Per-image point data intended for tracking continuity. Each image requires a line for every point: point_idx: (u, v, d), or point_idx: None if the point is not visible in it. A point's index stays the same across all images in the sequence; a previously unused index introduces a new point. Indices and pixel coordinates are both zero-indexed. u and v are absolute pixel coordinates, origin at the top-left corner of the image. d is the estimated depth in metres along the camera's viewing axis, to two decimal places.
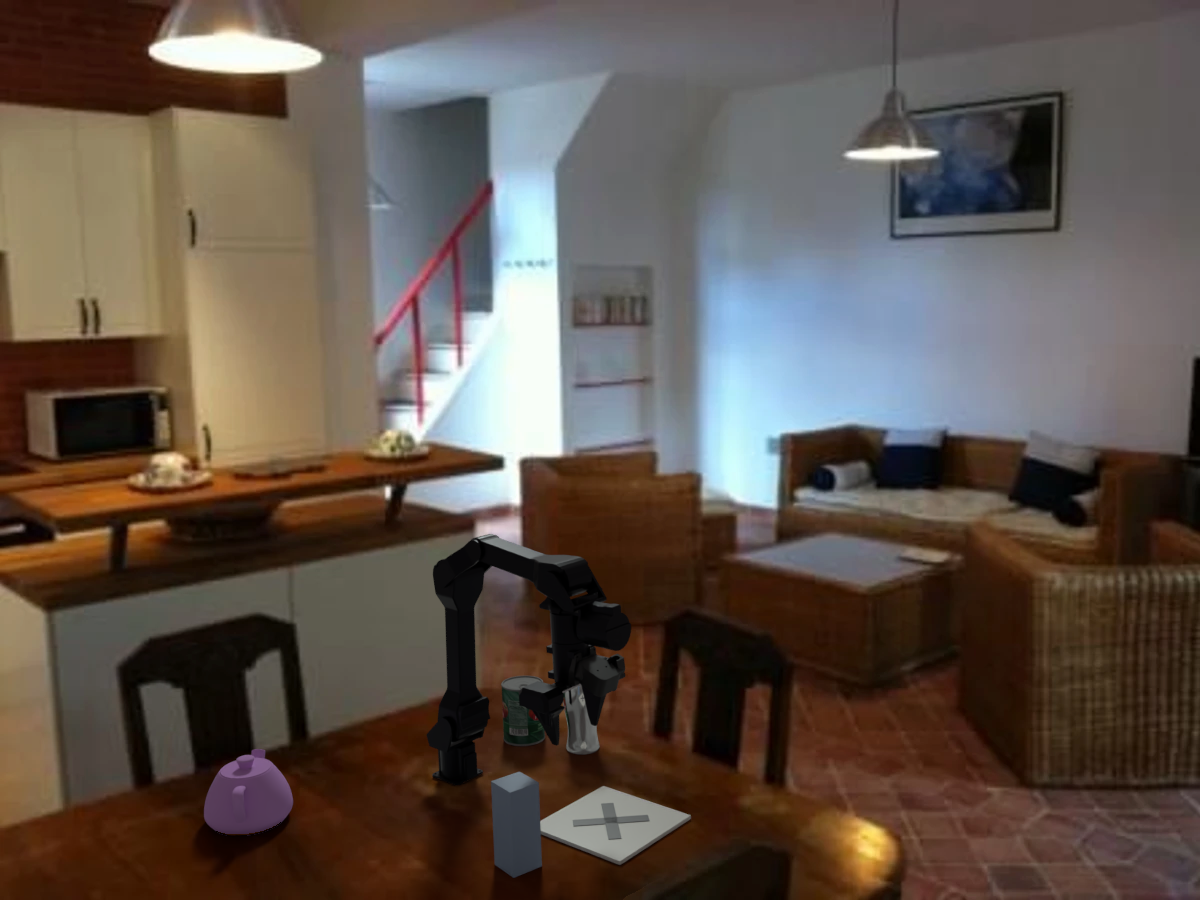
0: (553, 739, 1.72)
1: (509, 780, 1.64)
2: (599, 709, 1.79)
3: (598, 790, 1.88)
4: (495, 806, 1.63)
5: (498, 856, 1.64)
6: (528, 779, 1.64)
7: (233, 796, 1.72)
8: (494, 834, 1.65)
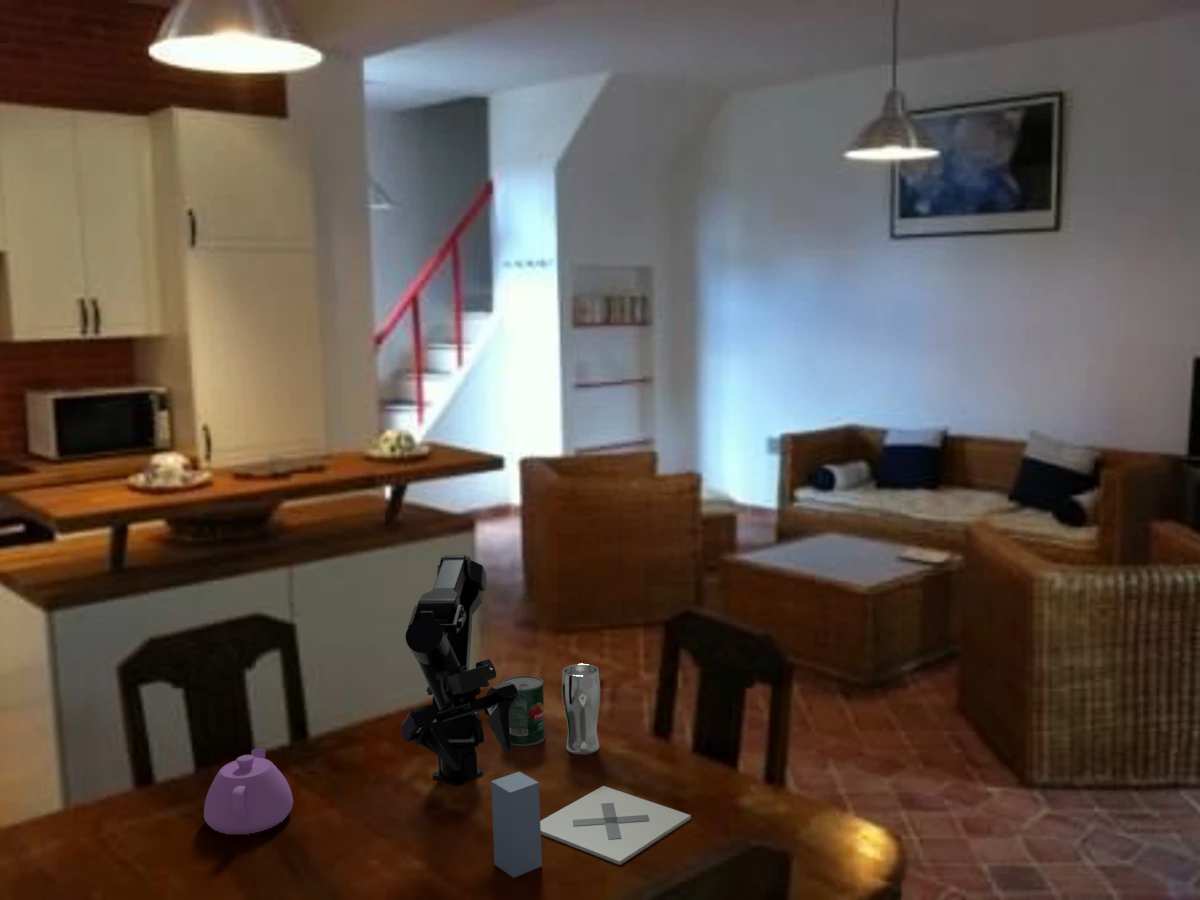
0: (452, 763, 1.67)
1: (509, 780, 1.64)
2: (505, 732, 1.73)
3: (598, 790, 1.88)
4: (495, 806, 1.63)
5: (498, 856, 1.64)
6: (528, 779, 1.64)
7: (233, 796, 1.72)
8: (494, 834, 1.65)
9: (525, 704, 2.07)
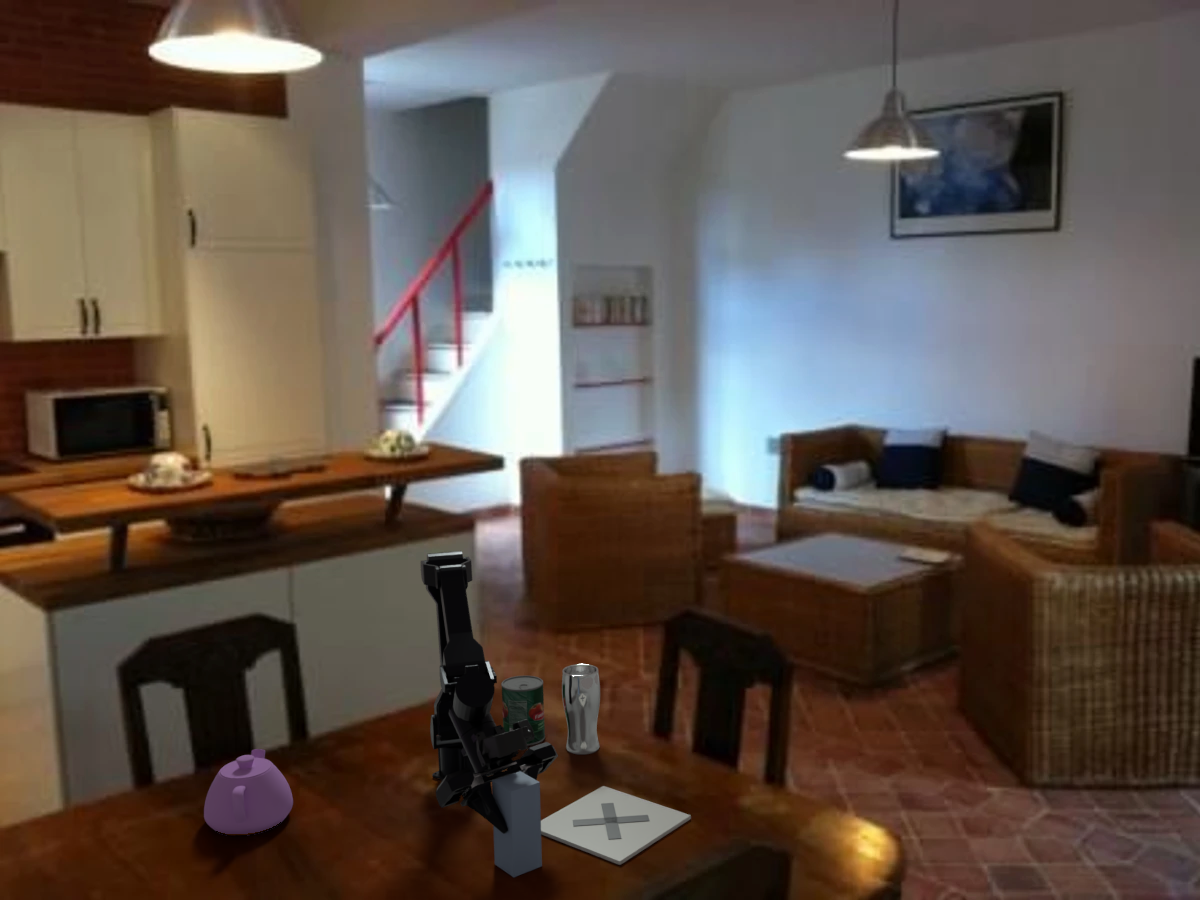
0: (500, 826, 1.61)
1: (510, 780, 1.64)
2: None
3: (598, 790, 1.88)
4: None
5: (498, 855, 1.64)
6: (529, 778, 1.64)
7: (233, 796, 1.72)
8: (495, 834, 1.65)
9: (525, 704, 2.07)
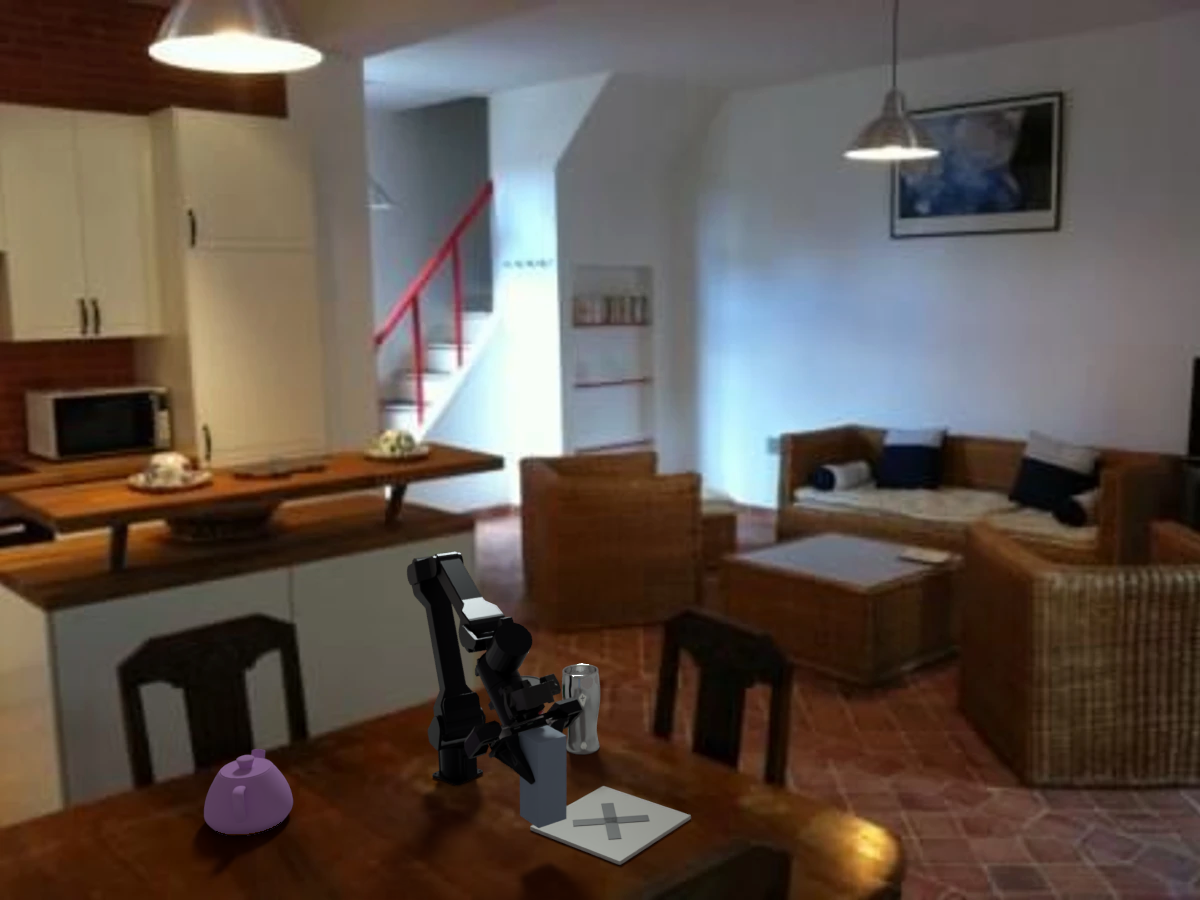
0: (527, 777, 1.64)
1: (537, 733, 1.66)
2: None
3: (598, 790, 1.88)
4: None
5: (524, 807, 1.67)
6: (556, 732, 1.67)
7: (233, 796, 1.72)
8: (521, 786, 1.67)
9: None
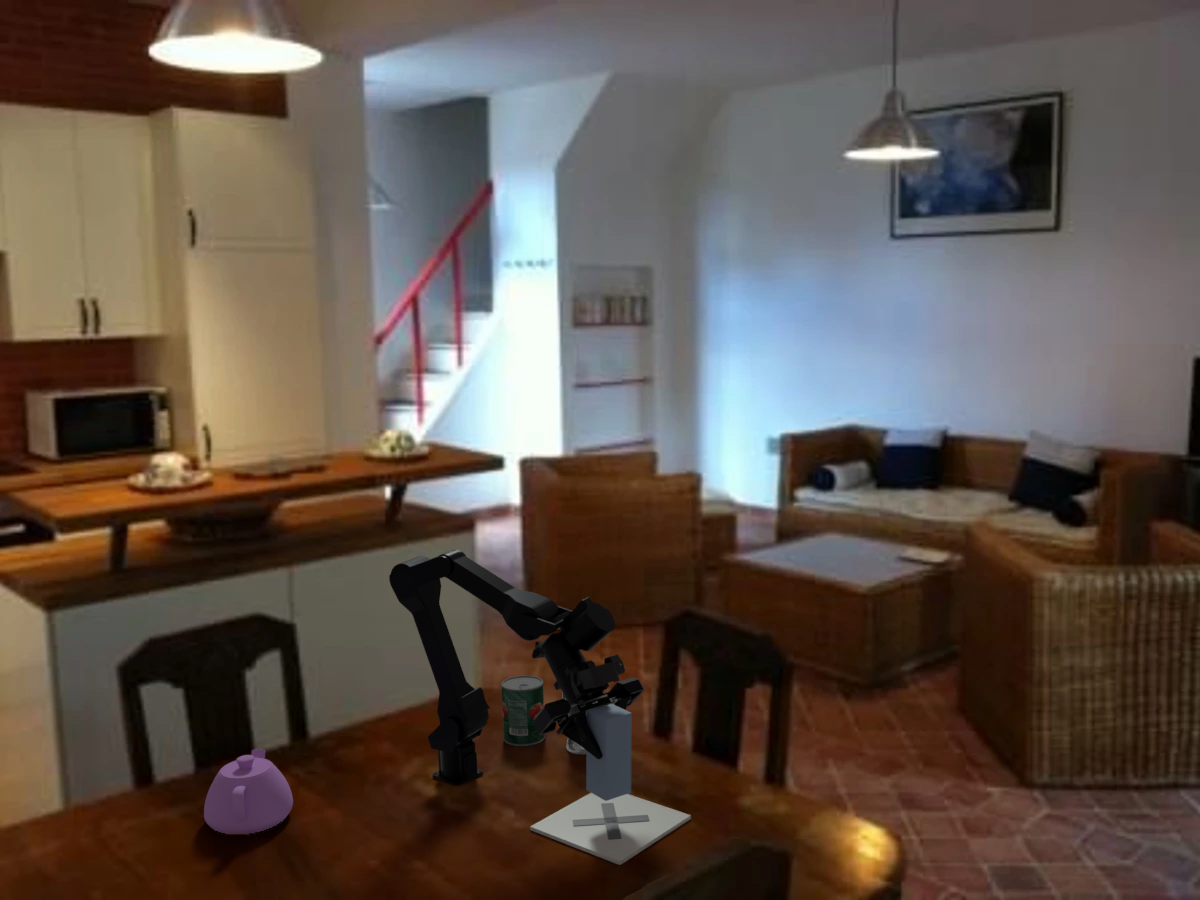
0: (595, 752, 1.73)
1: (603, 710, 1.75)
2: None
3: None
4: None
5: (590, 781, 1.75)
6: (621, 709, 1.75)
7: (233, 796, 1.72)
8: (587, 761, 1.76)
9: (525, 704, 2.07)
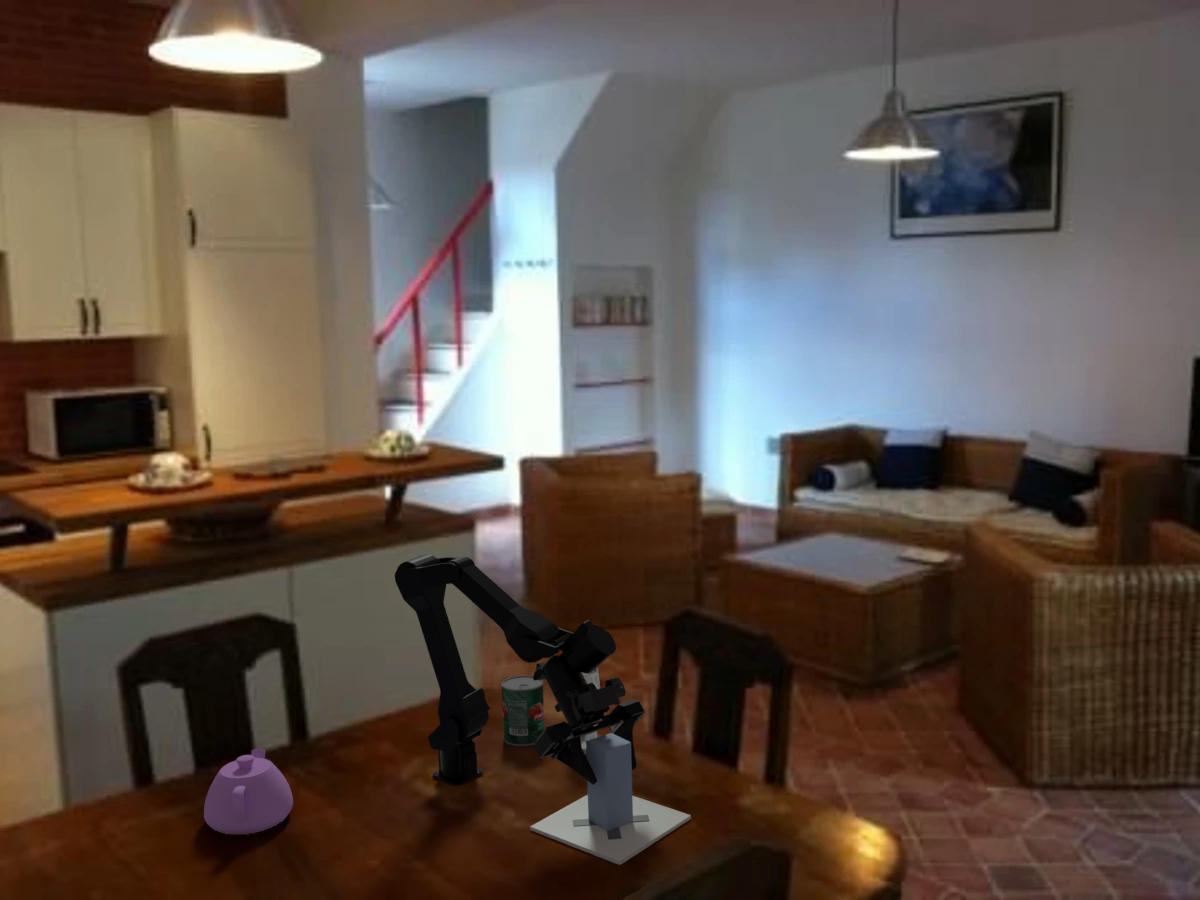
0: (589, 777, 1.72)
1: (603, 740, 1.75)
2: None
3: None
4: (590, 764, 1.75)
5: (592, 811, 1.76)
6: (621, 739, 1.76)
7: (233, 796, 1.72)
8: (589, 791, 1.76)
9: (525, 704, 2.07)
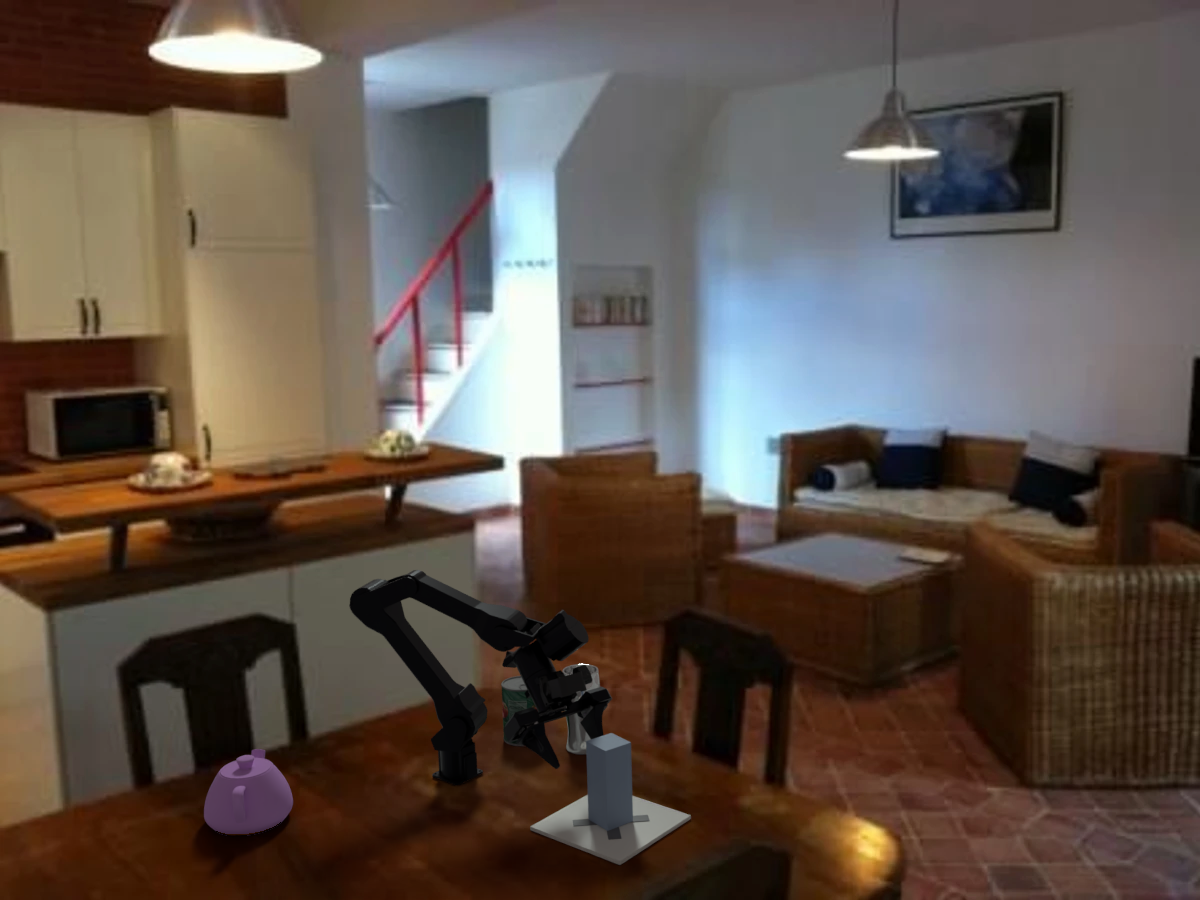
0: (552, 762, 1.78)
1: (603, 740, 1.75)
2: (600, 733, 1.85)
3: None
4: (590, 764, 1.75)
5: (592, 811, 1.76)
6: (621, 739, 1.76)
7: (233, 796, 1.72)
8: (589, 791, 1.76)
9: (525, 704, 2.07)
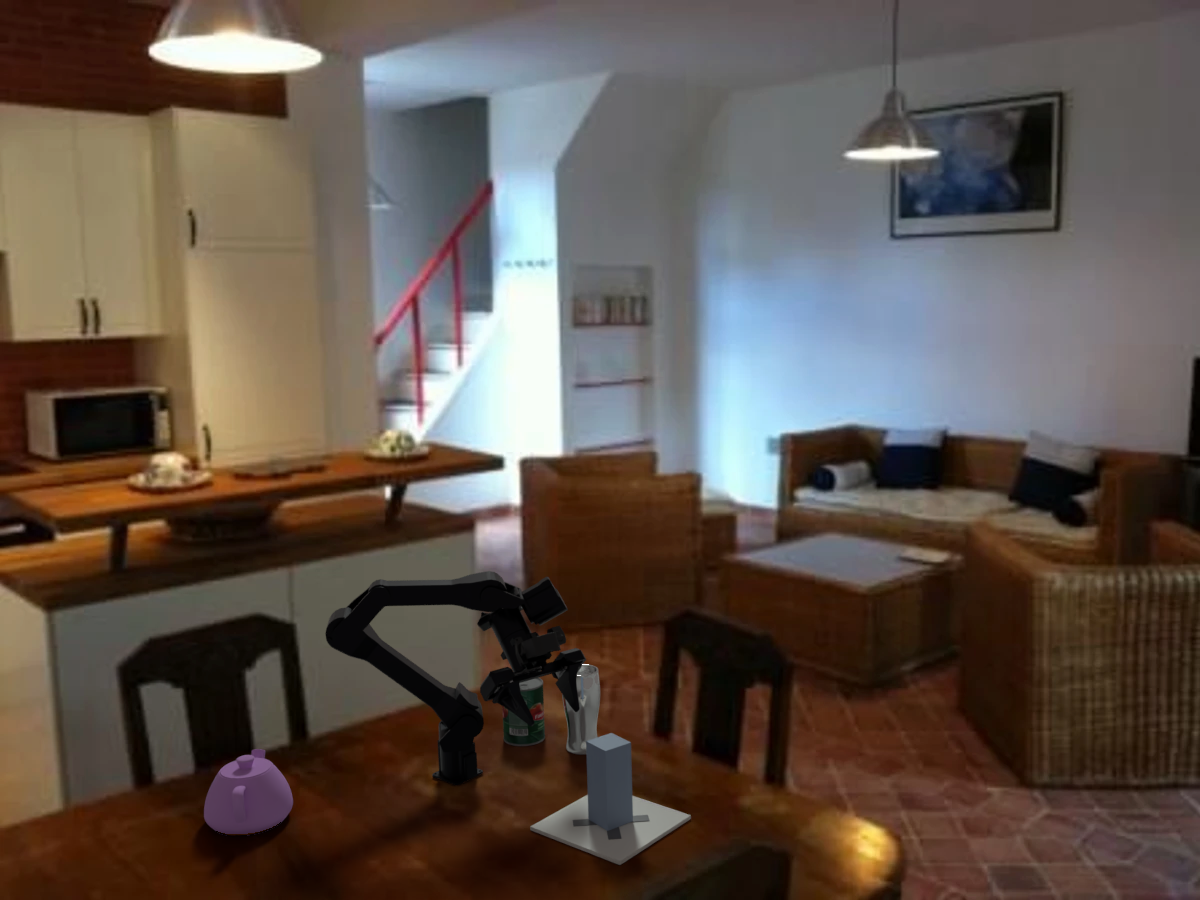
0: (527, 719, 1.83)
1: (603, 740, 1.75)
2: (574, 693, 1.89)
3: None
4: (590, 764, 1.75)
5: (592, 811, 1.76)
6: (621, 739, 1.76)
7: (233, 796, 1.72)
8: (589, 791, 1.76)
9: None
